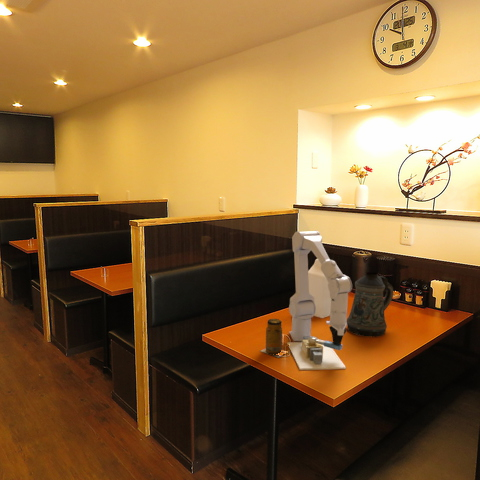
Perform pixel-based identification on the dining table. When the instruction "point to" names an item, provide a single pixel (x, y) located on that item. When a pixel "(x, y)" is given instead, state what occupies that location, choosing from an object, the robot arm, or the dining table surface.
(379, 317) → the beer stein
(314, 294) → the milk
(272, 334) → the condiment
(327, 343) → the lever
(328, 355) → the board
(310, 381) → the dining table surface
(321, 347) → the valve
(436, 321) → the dining table surface
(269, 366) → the dining table surface
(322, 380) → the dining table surface
